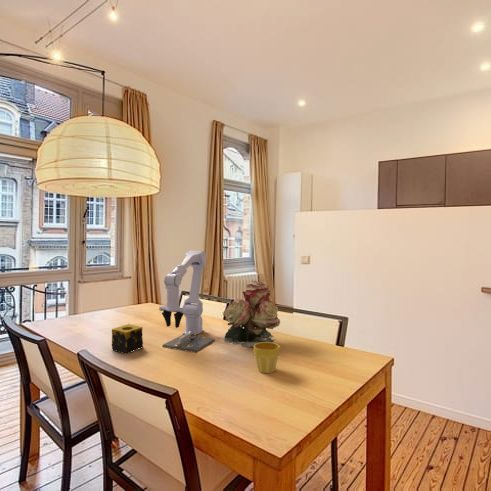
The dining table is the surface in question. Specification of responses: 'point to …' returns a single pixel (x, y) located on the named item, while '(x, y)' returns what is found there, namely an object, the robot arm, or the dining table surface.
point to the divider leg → (185, 337)
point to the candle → (127, 338)
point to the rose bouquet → (251, 316)
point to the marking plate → (190, 343)
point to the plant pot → (266, 356)
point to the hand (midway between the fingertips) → (172, 326)
